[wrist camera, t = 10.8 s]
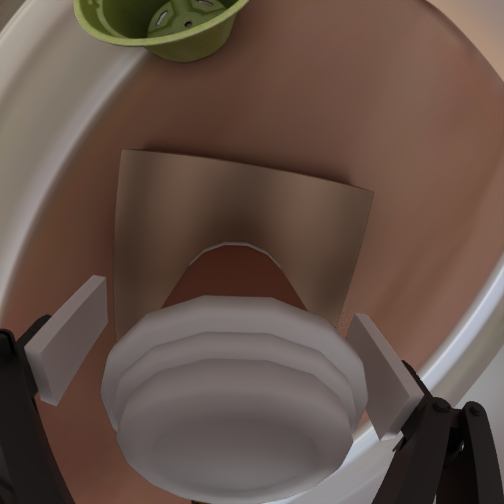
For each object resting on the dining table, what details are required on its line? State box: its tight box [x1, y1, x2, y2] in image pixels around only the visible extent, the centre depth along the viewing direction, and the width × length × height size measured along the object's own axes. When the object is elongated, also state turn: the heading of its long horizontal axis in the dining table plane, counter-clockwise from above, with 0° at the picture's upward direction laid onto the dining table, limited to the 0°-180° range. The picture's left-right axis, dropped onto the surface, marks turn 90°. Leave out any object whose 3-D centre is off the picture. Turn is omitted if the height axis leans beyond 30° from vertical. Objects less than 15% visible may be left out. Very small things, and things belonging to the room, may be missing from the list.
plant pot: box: [74, 0, 250, 63], centre depth 12 cm, size 9×9×9 cm
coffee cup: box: [100, 242, 368, 504], centre depth 13 cm, size 9×9×12 cm
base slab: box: [113, 149, 374, 343], centre depth 20 cm, size 15×15×4 cm
